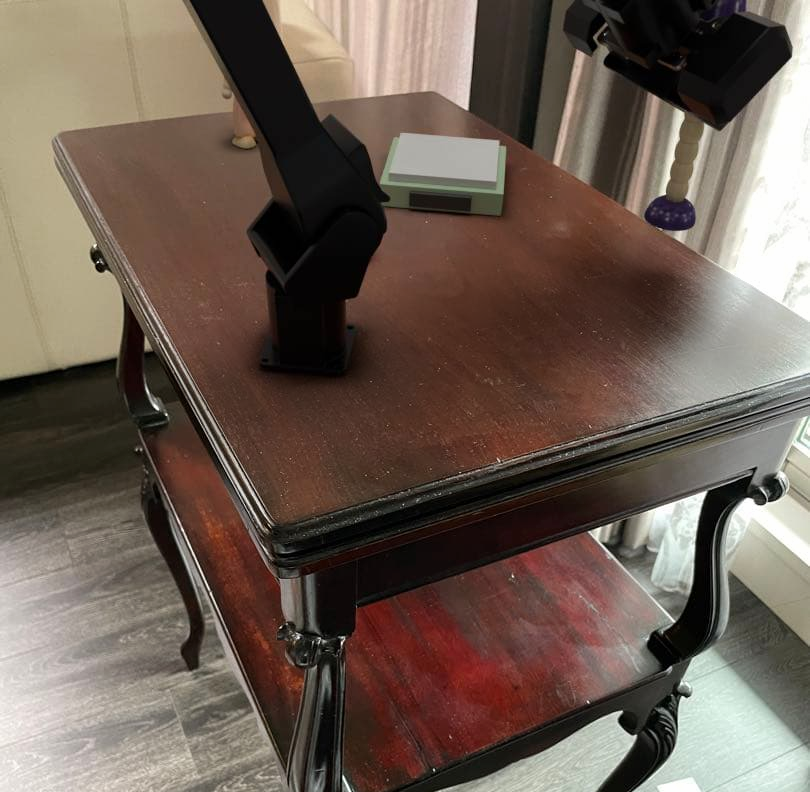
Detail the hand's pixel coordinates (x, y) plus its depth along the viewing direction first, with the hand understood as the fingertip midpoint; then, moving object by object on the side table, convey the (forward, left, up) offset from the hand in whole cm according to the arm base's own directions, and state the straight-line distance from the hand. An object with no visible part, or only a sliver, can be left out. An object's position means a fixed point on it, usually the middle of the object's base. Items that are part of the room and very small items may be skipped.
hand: (706, 116), depth 65 cm
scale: (+15, +21, -13) cm, 29 cm away
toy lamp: (-1, +1, -8) cm, 8 cm away
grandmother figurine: (+23, +43, -13) cm, 50 cm away
